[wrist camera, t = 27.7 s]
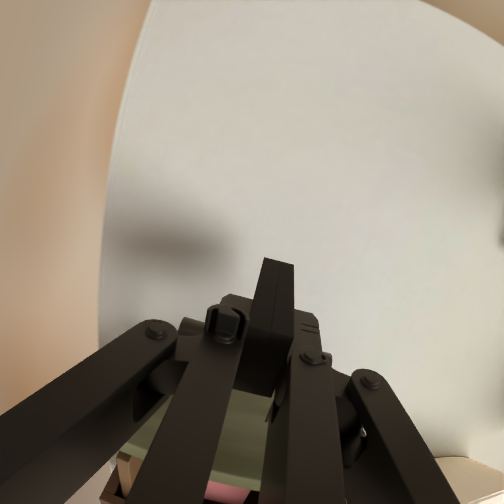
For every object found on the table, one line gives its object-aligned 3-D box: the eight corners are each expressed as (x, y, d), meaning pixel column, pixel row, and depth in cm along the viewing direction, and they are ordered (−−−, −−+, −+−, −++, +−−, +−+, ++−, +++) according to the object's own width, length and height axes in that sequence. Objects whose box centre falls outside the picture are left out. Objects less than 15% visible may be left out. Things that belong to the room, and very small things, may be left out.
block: (197, 406, 21) (177, 458, 16) (265, 423, 21) (257, 478, 16) (190, 443, 22) (173, 490, 18) (249, 458, 22) (241, 506, 17)
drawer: (165, 265, 19) (86, 345, 10) (365, 316, 18) (402, 422, 10) (151, 451, 25) (120, 521, 17) (275, 483, 25) (267, 558, 16)
